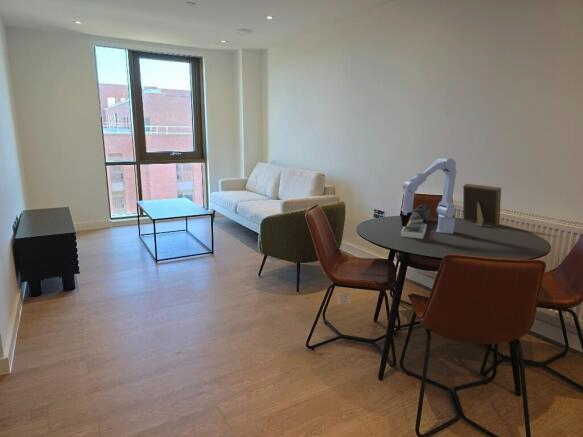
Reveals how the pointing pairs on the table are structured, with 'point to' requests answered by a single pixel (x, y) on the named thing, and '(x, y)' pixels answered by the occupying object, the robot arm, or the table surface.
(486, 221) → the photo frame
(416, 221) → the far rocker
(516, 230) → the table surface
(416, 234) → the switch panel
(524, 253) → the table surface
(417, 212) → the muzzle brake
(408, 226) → the near rocker
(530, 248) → the table surface
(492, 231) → the table surface
